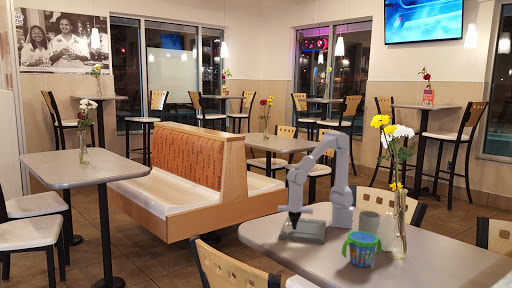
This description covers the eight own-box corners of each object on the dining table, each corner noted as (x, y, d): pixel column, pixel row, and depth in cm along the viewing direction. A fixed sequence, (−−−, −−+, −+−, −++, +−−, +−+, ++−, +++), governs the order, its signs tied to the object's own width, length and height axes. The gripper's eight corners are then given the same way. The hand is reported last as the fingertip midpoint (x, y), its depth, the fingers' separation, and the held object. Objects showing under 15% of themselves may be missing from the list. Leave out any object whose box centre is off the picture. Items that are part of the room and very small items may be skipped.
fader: (291, 229, 153) (292, 222, 153) (290, 232, 149) (290, 225, 149) (286, 228, 154) (286, 221, 153) (284, 232, 150) (284, 225, 149)
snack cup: (372, 254, 137) (374, 229, 135) (388, 268, 127) (390, 241, 125) (334, 258, 133) (336, 232, 132) (348, 272, 123) (349, 244, 122)
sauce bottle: (378, 244, 146) (382, 201, 143) (399, 249, 141) (403, 206, 138) (372, 251, 139) (376, 207, 136) (393, 257, 135) (397, 211, 132)
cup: (375, 233, 157) (377, 211, 155) (380, 241, 149) (382, 218, 147) (356, 232, 157) (357, 210, 156) (359, 240, 149) (361, 217, 148)
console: (326, 224, 165) (326, 220, 164) (323, 244, 145) (323, 239, 144) (287, 220, 169) (287, 216, 169) (279, 238, 149) (279, 234, 148)
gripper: (276, 198, 146) (275, 230, 149) (312, 202, 143) (311, 234, 145) (279, 193, 153) (278, 224, 155) (313, 196, 150) (312, 227, 152)
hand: (294, 228), depth 151 cm, fingers closed
